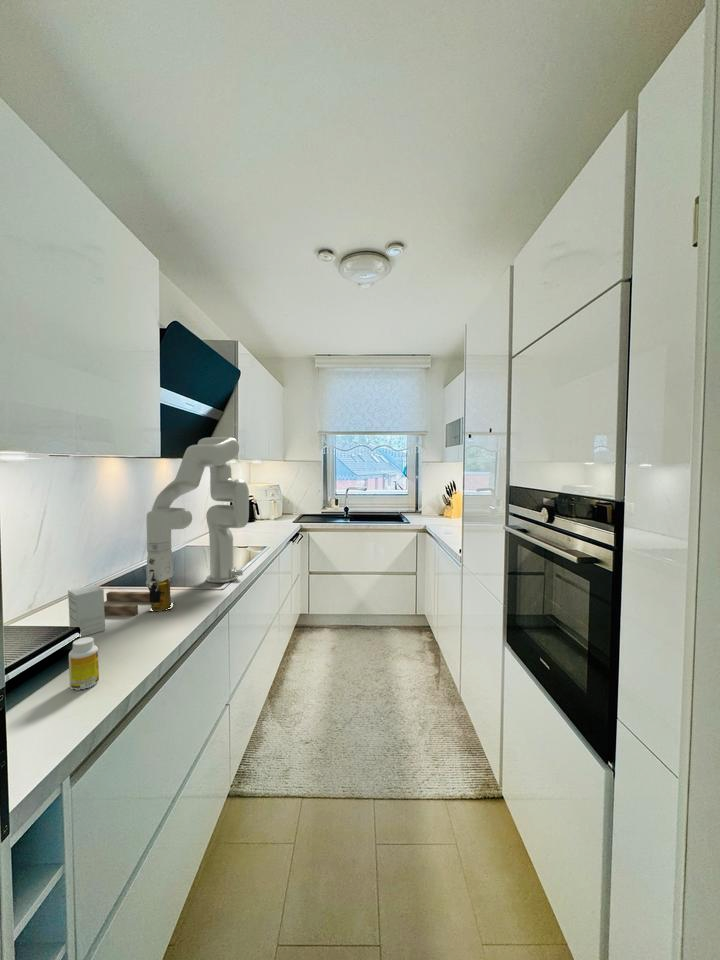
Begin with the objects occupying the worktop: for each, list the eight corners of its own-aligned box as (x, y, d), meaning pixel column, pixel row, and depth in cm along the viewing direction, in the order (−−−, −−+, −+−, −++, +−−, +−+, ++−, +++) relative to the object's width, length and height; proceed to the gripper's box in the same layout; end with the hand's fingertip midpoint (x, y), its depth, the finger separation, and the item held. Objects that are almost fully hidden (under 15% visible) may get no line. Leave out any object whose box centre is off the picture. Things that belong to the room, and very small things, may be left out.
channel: (158, 600, 153) (158, 592, 153) (134, 615, 138) (134, 606, 138) (110, 599, 154) (109, 591, 154) (81, 614, 139) (80, 605, 139)
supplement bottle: (102, 684, 96) (100, 640, 96) (73, 694, 92) (71, 648, 91) (95, 675, 100) (93, 633, 99) (67, 685, 96) (65, 641, 95)
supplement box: (96, 624, 131) (95, 584, 130) (105, 630, 126) (104, 588, 125) (69, 631, 125) (67, 589, 125) (77, 638, 121) (75, 595, 120)
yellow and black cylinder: (148, 612, 141) (146, 577, 140) (152, 604, 149) (151, 570, 148) (171, 610, 143) (170, 575, 142) (175, 602, 151) (174, 569, 150)
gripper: (156, 552, 135) (157, 607, 136) (181, 542, 152) (182, 591, 153) (133, 552, 135) (135, 607, 136) (161, 542, 153) (162, 591, 153)
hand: (160, 598), depth 145 cm, fingers closed on yellow and black cylinder, 6 cm apart
